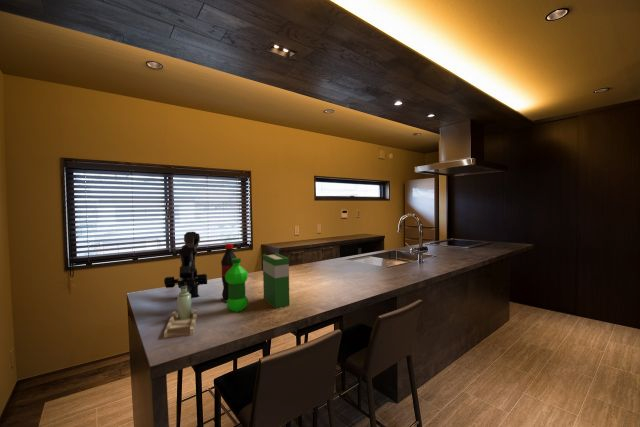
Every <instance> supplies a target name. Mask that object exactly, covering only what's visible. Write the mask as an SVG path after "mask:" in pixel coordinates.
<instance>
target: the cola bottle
mask: <svg viewBox="0 0 640 427" xmlns="http://www.w3.org/2000/svg"><path fill="white" fill-rule="evenodd" d="M224 246H225V247H224V249H225V253H224V255H223V256H222V259H221V260H220V263H221V264H220V265H221V282H222V285H223V289H222V293H221V296H222V299H223V300H224V301H225V302H227V300H228V298H229V296H228V283H227V282H226V280H225V275H226V272H227V271H228V270H229V269H230V268H231V267H232V266H233V263H232V259H233V258H237V256H236V254H235V253H234V243H226V244H225V245H224Z"/></svg>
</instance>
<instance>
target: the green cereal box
mask: <svg viewBox="0 0 640 427" xmlns="http://www.w3.org/2000/svg"><path fill="white" fill-rule="evenodd" d="M262 272H263V273H262V276H263V278H262V279H263V280H262V281H263V299H264V300H265V301H266V302H267V303H268V302H269V303H268V304H269V305H271V306H272V307H273V308H274V307H275V308H277V309H281V308H280V307H282V308H286V307H290V306H289V305H290V258H289V257H287V256H285V255H281V254H279V253H276V252H274V253H273V254H269V255H268V254H265V253H264V254H262ZM285 306H286V307H285ZM275 308H274V309H275Z"/></svg>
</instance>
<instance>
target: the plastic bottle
mask: <svg viewBox="0 0 640 427" xmlns="http://www.w3.org/2000/svg"><path fill="white" fill-rule="evenodd" d="M232 263H233V266H232V267H231V268H230V269H229V270H228V271H227V272H226V275H225V280H226V282H227V283H228V296H229V298H228V300H227V301H226V306H227V308H228V309H229V310H230V311H232V312H236V313H240V312H242V311H243V310H244V309H245V308H246V307H247V305H248V303H249V302H248V298H247V295H246V281H247V279H248V275H249V274H248V271H247V269H245V268H244V267H243V266H241V263H242V260H241V257H236V258H233V259H232ZM239 311H240V312H239Z"/></svg>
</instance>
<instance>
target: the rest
mask: <svg viewBox="0 0 640 427" xmlns="http://www.w3.org/2000/svg"><path fill="white" fill-rule="evenodd" d="M198 314H199V308H194V311H193V312H192V316H191V317H190V318H188V319H182V320H181V319H178V314H177V310H173V311H172V314H171V316H170V318H169V319H168V321H167V322H168V323H167V325H166V327H165V329H164V332H163V339H169V338H176V337H183V336H187V335H190V336H193V335H192V334H195V328H196V324H197V323H196V322H197V318H198Z"/></svg>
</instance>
